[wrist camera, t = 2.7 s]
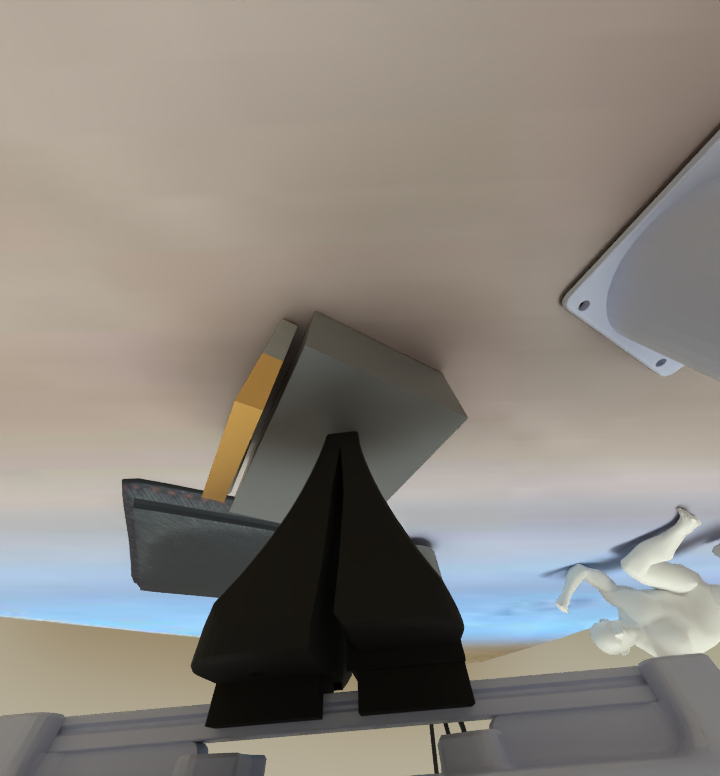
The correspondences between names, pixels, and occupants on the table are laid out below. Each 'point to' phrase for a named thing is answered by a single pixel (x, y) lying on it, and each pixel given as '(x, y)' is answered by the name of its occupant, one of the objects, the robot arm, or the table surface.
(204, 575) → the wallet
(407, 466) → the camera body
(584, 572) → the person figurine
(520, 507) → the table surface
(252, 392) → the side hatch
